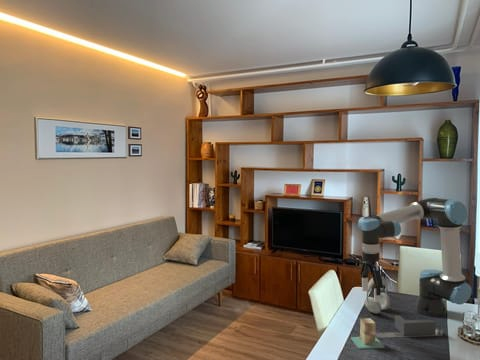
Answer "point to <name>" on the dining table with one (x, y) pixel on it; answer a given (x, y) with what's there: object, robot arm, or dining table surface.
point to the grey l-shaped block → (415, 326)
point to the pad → (362, 346)
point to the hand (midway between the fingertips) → (371, 296)
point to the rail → (399, 334)
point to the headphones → (377, 306)
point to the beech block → (367, 331)
